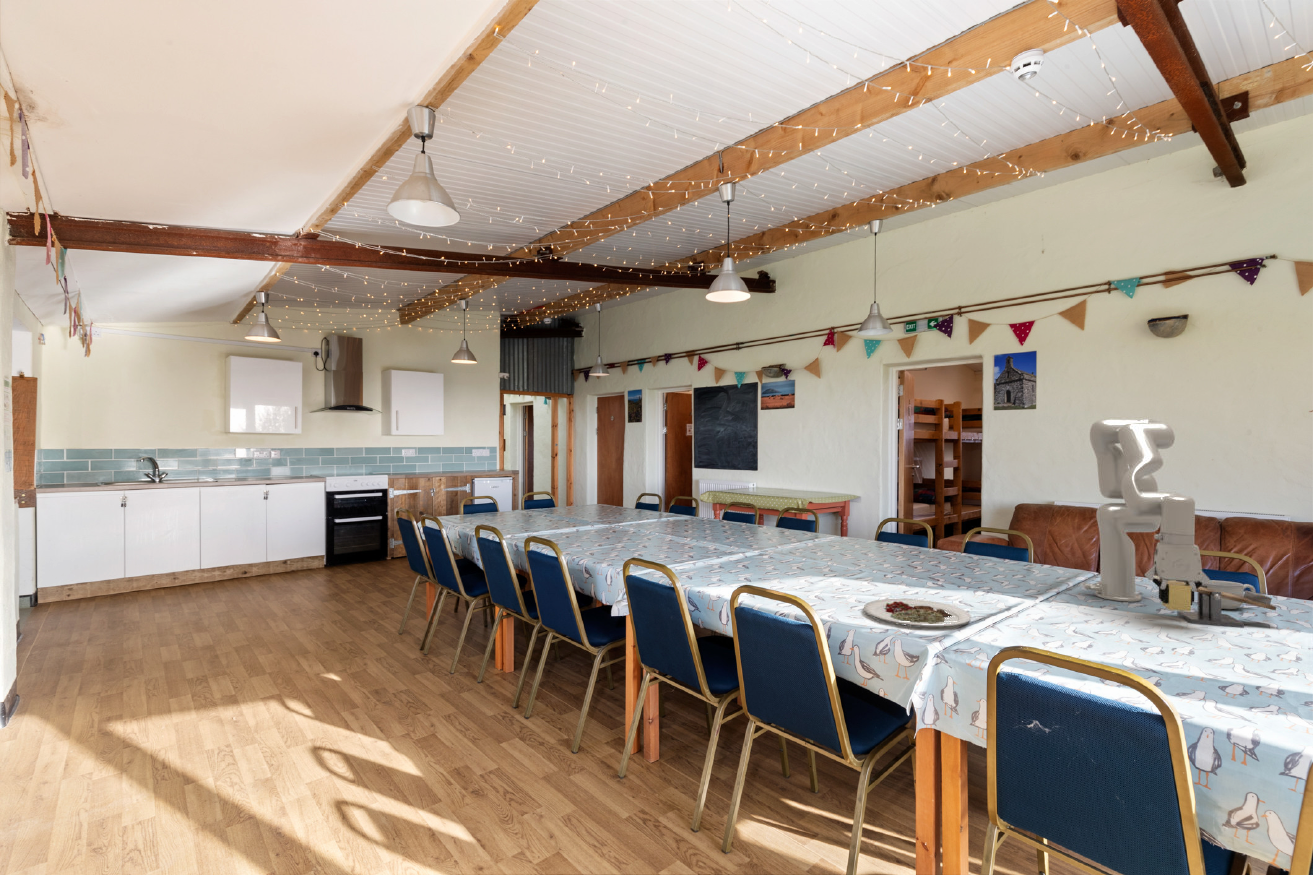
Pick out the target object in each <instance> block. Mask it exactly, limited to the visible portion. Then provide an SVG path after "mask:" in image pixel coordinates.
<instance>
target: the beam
mask: <svg viewBox="0 0 1313 875" xmlns="http://www.w3.org/2000/svg"><path fill="white" fill-rule="evenodd" d="M1153 576H1154V577H1155V578H1156V579H1157V580H1159V577H1158V576H1156V575H1155V574H1154V575H1153ZM1168 581H1174V580H1168ZM1211 591H1217V590H1213V589H1208V588H1204V587H1199V588H1198V589H1197V590H1196V591H1194V593H1198V592H1199V593H1203V594H1207V595H1211ZM1219 592H1221V591H1219ZM1221 597H1222V598H1224V599H1229V600H1233V601H1237V602H1241V603H1243V604H1247V605H1250V606H1256V607H1257V608H1258V607H1259V608H1264V609H1268V610H1272V611H1276V610H1277V607H1276V605H1275V606H1274V605H1273V604H1271V603H1272V599H1273V598H1271V596H1270V597H1269V596H1267V595H1265V594H1262V593H1257V592H1255V593H1254V592H1251V590H1245V589H1244V597H1243V596H1239V595H1234V594H1230V593H1226V592H1221Z"/></svg>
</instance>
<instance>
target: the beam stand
mask: <svg viewBox="0 0 1313 875" xmlns="http://www.w3.org/2000/svg"><path fill="white" fill-rule="evenodd" d="M1200 587H1204V588H1207V585H1202V586H1200ZM1221 599H1222V597H1221V592H1219V591H1211V595H1207V594H1203V593H1199V592H1197V611H1182V610H1176V611H1177V612H1176V613H1177V614H1176V615H1177V616H1179V617H1180V618H1182V619H1183V620H1185V621H1186V622H1188V623H1190V624H1191V625H1192V624H1193V625H1205V626H1206V625H1208V626H1217V627H1218V626H1219V627H1231V628H1233V627H1234V628H1242V629H1243V628H1245V625H1244V622H1242V621H1240V620H1238V619H1236V618H1235V617H1232V616H1231V615H1229V614H1226V613H1222V609H1221Z"/></svg>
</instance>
